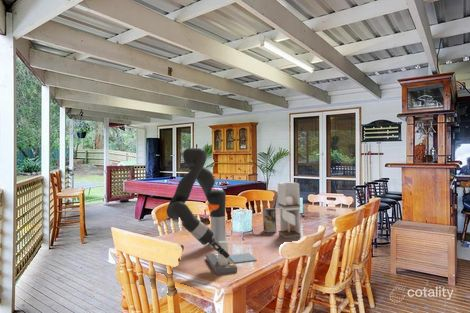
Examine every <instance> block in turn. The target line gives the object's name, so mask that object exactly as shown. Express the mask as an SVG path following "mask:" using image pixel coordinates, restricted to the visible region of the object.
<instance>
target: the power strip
mask: <svg viewBox="0 0 470 313" xmlns="http://www.w3.org/2000/svg"><path fill="white" fill-rule="evenodd" d="M205 257H206V258H205V260H206V261H207V263H208V264H209V265H210V267H211V268H212V270H213V271H214V274H215V275H226V274H233V273H238V266H237V264H236V263H233V261H232V260H231V259H230V258H229V257H228V265H223V266H218V252H214V253H206V256H205Z"/></svg>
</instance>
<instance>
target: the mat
mask: <svg viewBox="0 0 470 313" xmlns="http://www.w3.org/2000/svg"><path fill="white" fill-rule="evenodd" d="M229 258H230V259H231V260H232V262H233V263H234V264H241V263H248V262H250V263H251V262H256V261H257V259H256V257H254V256H253V255H252V254H251V253H250V252H247V253H237V254H229Z"/></svg>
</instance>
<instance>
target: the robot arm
mask: <svg viewBox="0 0 470 313" xmlns="http://www.w3.org/2000/svg"><path fill="white" fill-rule="evenodd" d="M182 153H183V154H182V156H183V157H182V159H183V161H184V164H185V165H186V166H187V168H188V169H189V171H188V172H187V173H186V174H185V175H184V176H182V178H181V179H180V180H179V182H178V184H177V187H176V189H175V192H174V194H173V196H172V197H171V199H170V201H169V203H168V205H167V208H166V215H167V217H168V218H169V219H171V220H176V219H179V218H180V220H181V221H182V222H181V225H182V227H183V228H184V229H185V230H187V231H188V233H189V234H191V235H192V237H193V238H195V240H197V241H198V242H199V243H201V245H204V246H205V245H209V247H210V248H212V249H213V250H214V251H216V252H217V253H218V252H219V253H220V254H222V255H223V256H224V257H225V258H228V257H229V255H230V254H229V252H228V253H227V252H226V251H225V250H224V249H223V248H222V247H221V245H220V244H219V243H218V241H226V242H227V239H226V234H227V233H226V228H227V227H226V202H227V201H226V195H227V194H226V191H224V189H213V187H214V186H215V183H216V181H215V177H214V174H213V173H212V172H211V170H210V169H208V168H207V167H206V166H205V164H206V161H207V151H206V150H205V149H204V148H200V147H199V148H198V147H189V148H186V149H184V151H183V152H182ZM196 180H197V181H196ZM195 182H197V183H198V184H199V186H200V188H201V189H202V191H203V193H204V195H205V198H206V200H207V203H208V204H209V205H211V206H218V208H216V209H213V210H211V211H210V228H209V227H208V226H207V225H206V224H205V223H203V222H202V221H201V220H199V219H198V218H197V217H196V216H195V215H194V214H193V212H192V210H191V209H190V208H189V206H188V205H187V204H186V202H187V201H188V200H189V198H190V195H191V192H192V190H193V187H194V185H195ZM220 249H222V250H221V251H220Z"/></svg>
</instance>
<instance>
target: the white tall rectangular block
mask: <svg viewBox="0 0 470 313" xmlns="http://www.w3.org/2000/svg"><path fill="white" fill-rule="evenodd" d="M218 243H219V244H220V245H221V247H222V248H223V249H224V250H225V251H226V252H227V253H228V254H229V247H228V246H229V243H228V242H227V240H226V241H218ZM221 250H222V249H220V251H221ZM217 253H218V266H223V265H228V258H225V257H224V256H223V255H222V254H220V253H219V252H218V251H217Z"/></svg>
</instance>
